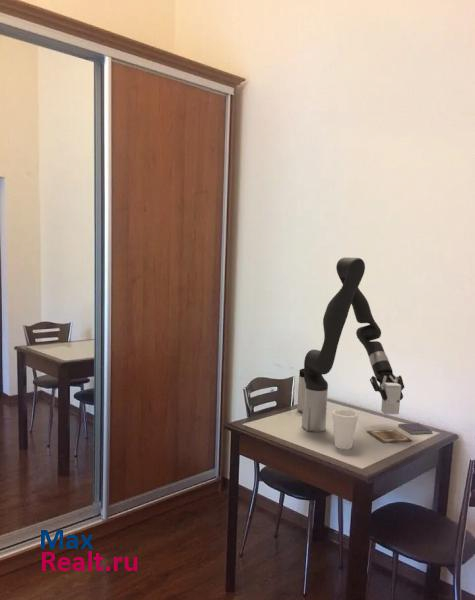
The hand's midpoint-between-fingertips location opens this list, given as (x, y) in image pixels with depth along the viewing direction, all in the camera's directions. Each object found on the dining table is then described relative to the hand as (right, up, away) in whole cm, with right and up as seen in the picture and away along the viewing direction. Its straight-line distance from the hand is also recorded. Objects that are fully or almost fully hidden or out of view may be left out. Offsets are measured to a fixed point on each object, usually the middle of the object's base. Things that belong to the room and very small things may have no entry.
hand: (393, 399), depth 207 cm
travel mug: (-32, -12, +34) cm, 48 cm away
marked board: (-1, -16, +3) cm, 16 cm away
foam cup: (-22, -16, -10) cm, 29 cm away
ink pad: (+13, -16, +13) cm, 24 cm away
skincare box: (-1, -6, +2) cm, 7 cm away
